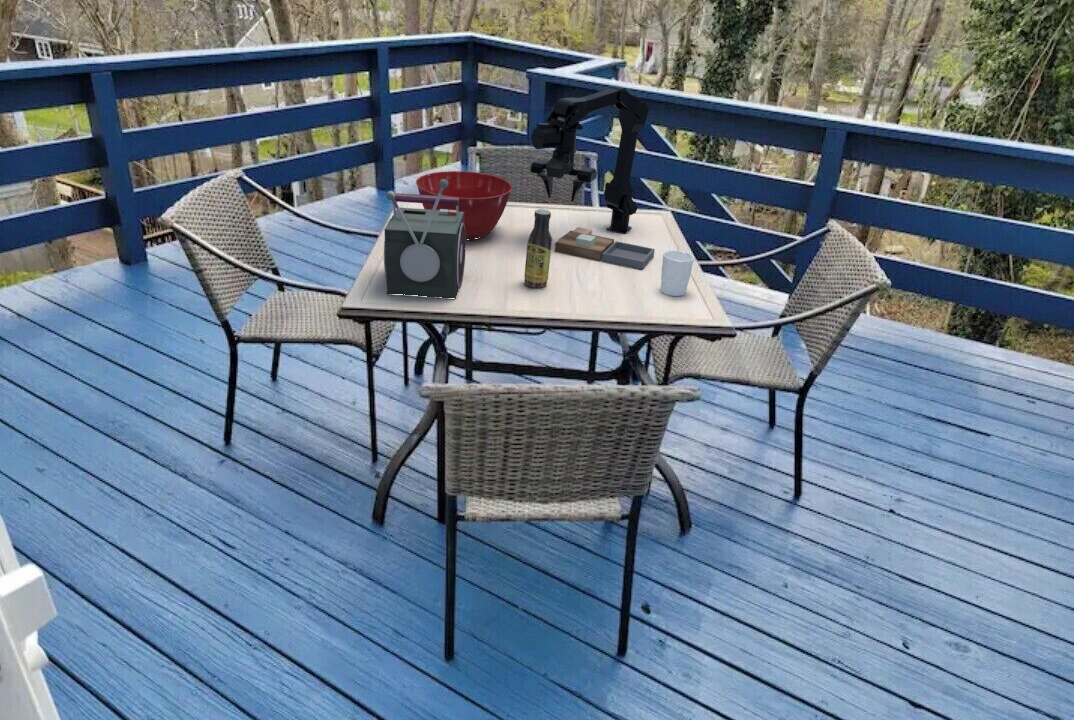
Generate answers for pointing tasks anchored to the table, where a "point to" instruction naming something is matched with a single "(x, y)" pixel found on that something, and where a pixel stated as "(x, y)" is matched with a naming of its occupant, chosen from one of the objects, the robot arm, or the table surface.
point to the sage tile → (585, 240)
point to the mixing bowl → (470, 197)
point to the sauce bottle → (538, 251)
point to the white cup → (676, 272)
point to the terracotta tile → (581, 232)
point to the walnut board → (583, 247)
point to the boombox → (425, 246)
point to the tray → (628, 255)
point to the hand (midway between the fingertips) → (561, 199)
